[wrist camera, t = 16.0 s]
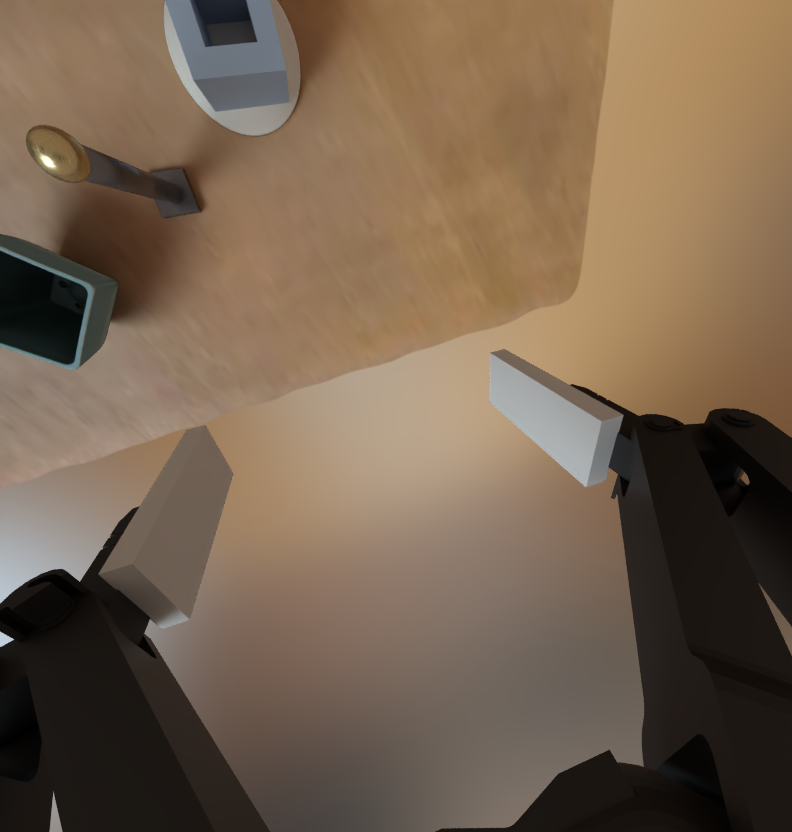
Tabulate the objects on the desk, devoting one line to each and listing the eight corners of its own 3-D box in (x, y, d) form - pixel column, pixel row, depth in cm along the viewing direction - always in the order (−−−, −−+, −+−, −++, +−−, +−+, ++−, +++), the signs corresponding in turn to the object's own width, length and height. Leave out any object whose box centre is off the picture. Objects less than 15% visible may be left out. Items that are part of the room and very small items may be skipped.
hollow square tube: (215, 111, 29) (193, 79, 23) (176, -3, 26) (138, -75, 20) (289, 102, 30) (286, 69, 24) (262, -10, 27) (250, -80, 21)
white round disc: (204, 143, 31) (202, 142, 30) (138, -36, 25) (134, -41, 24) (314, 128, 32) (315, 126, 32) (276, -44, 26) (276, -49, 26)
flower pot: (23, 308, 33) (-60, 329, 26) (34, 226, 30) (-55, 222, 23) (123, 345, 37) (77, 372, 30) (141, 275, 34) (95, 285, 27)
